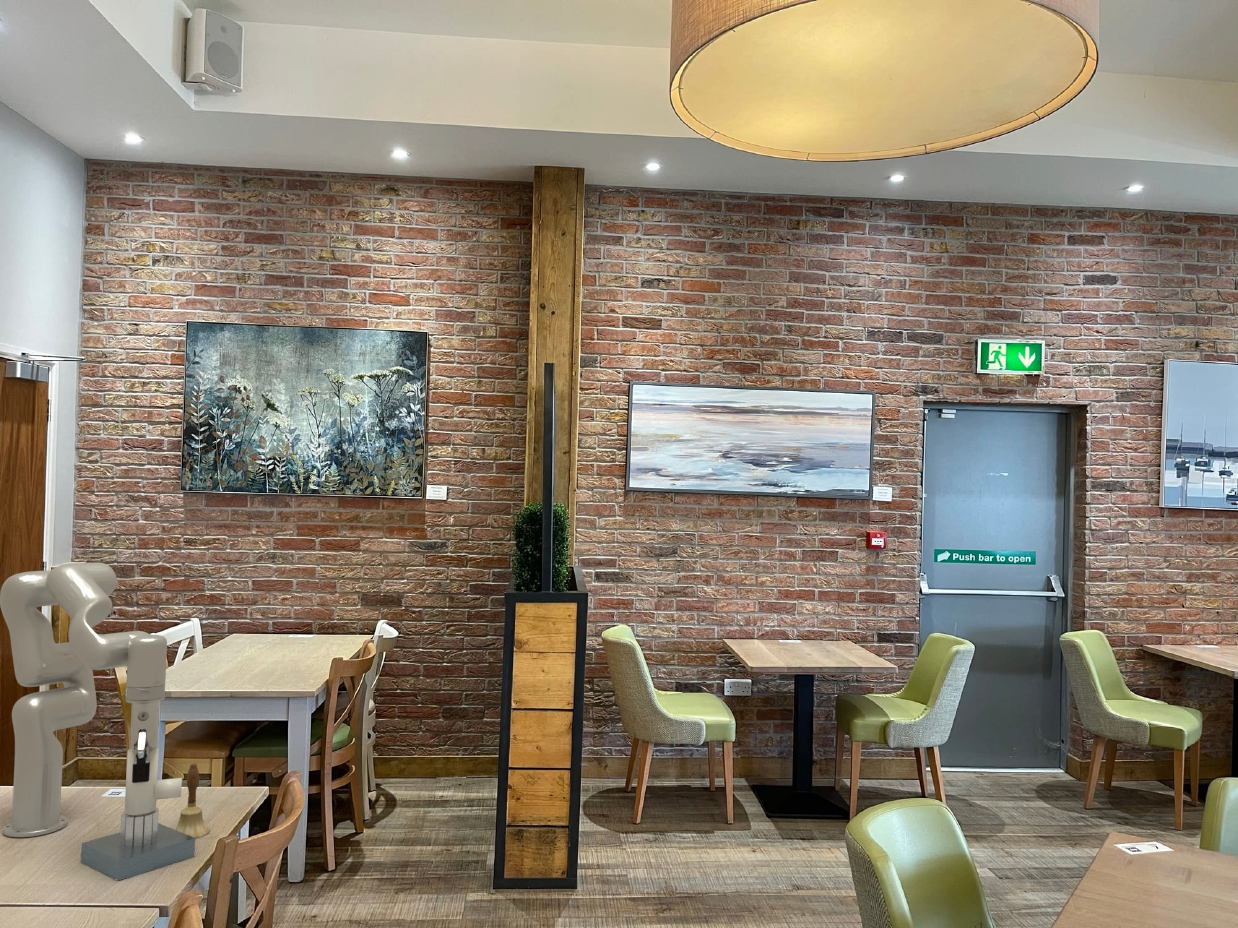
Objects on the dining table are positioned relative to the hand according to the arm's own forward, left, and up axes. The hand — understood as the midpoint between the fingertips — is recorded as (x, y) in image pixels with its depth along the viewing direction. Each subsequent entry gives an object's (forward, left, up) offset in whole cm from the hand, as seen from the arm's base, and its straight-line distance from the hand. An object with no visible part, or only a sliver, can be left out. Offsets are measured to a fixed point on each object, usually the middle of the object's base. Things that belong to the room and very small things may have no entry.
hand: (141, 776), depth 192 cm
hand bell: (-6, +15, -18) cm, 24 cm away
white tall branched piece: (+1, +2, -10) cm, 10 cm away
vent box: (0, 0, -17) cm, 17 cm away
